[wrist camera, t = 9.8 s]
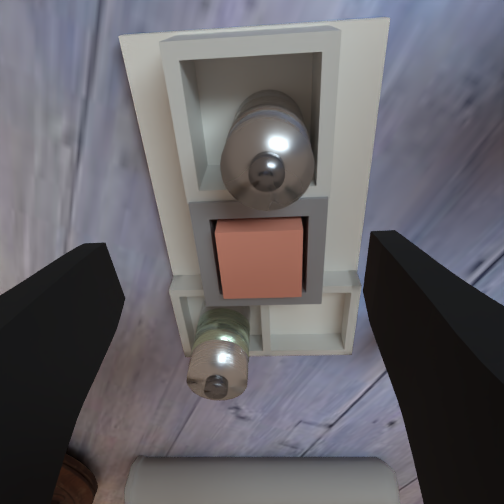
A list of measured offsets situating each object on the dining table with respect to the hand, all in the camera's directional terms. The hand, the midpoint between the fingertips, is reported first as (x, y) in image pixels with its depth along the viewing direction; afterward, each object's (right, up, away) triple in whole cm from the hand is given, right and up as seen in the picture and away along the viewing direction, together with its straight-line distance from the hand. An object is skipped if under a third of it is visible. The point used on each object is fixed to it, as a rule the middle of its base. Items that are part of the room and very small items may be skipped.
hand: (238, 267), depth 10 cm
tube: (+2, -20, +27) cm, 34 cm away
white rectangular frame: (+1, +2, +10) cm, 11 cm away
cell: (-1, -3, +14) cm, 14 cm away
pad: (+1, +1, +9) cm, 9 cm away
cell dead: (+1, +6, +7) cm, 9 cm away
